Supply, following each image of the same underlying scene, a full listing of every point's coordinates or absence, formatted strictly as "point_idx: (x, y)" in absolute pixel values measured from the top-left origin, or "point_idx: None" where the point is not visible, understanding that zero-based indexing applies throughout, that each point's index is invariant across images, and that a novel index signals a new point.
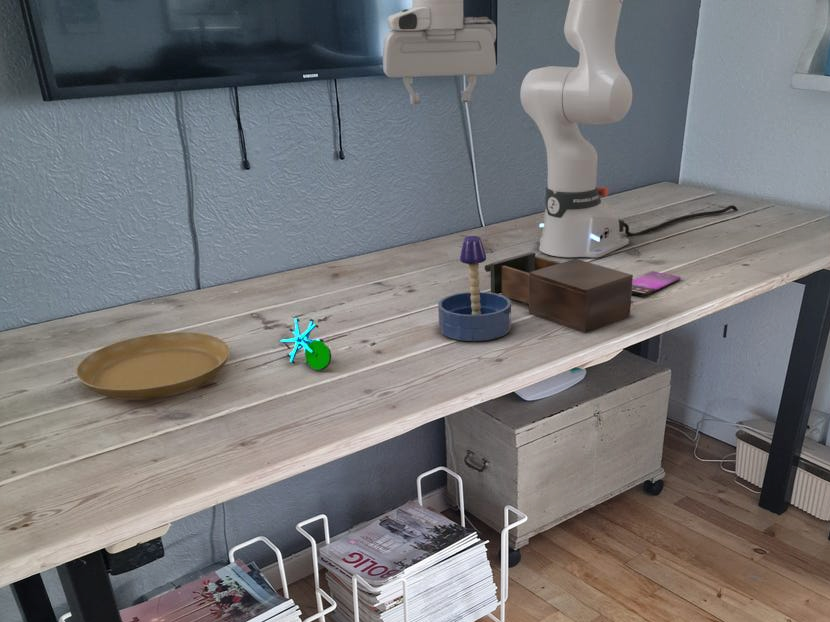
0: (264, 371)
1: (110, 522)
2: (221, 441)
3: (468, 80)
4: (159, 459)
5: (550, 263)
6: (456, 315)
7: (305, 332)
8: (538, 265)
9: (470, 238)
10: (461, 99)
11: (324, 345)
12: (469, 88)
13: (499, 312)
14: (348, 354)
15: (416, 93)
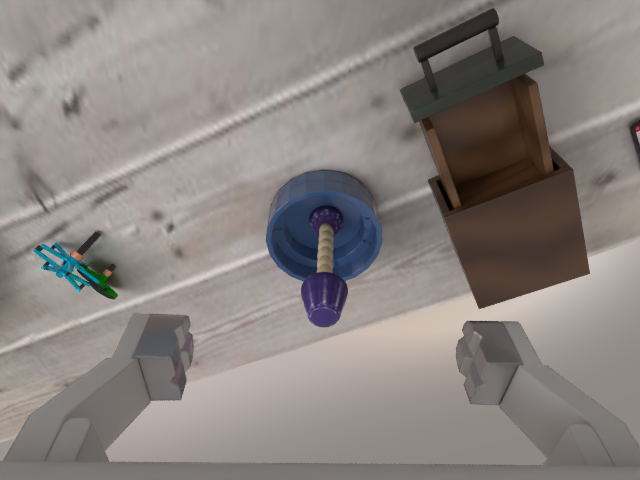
0: (35, 268)
1: (9, 437)
2: (45, 379)
3: (546, 463)
4: (2, 390)
5: (534, 129)
6: (286, 272)
7: (68, 279)
8: (523, 92)
9: (319, 320)
10: (468, 332)
11: (103, 295)
12: (520, 426)
13: (348, 279)
14: (137, 249)
15: (160, 385)
